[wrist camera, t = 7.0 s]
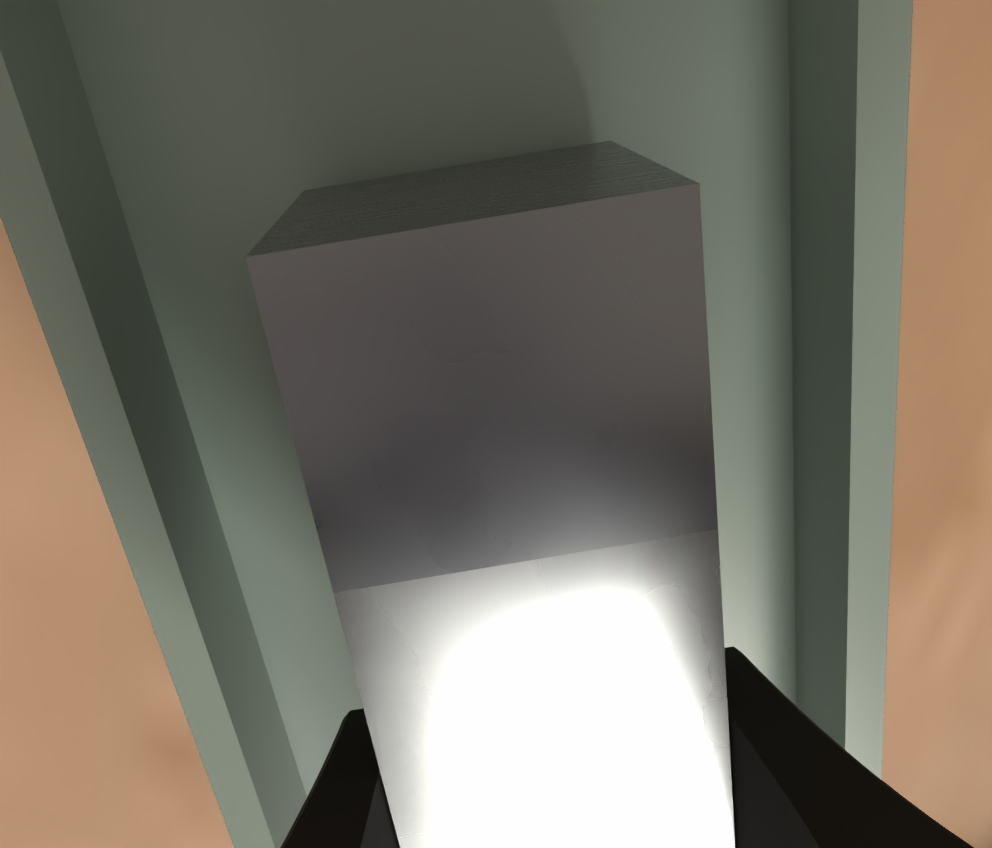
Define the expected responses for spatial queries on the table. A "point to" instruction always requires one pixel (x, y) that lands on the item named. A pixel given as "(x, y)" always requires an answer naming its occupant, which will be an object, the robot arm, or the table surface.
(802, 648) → the bin tray
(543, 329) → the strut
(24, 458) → the table surface
